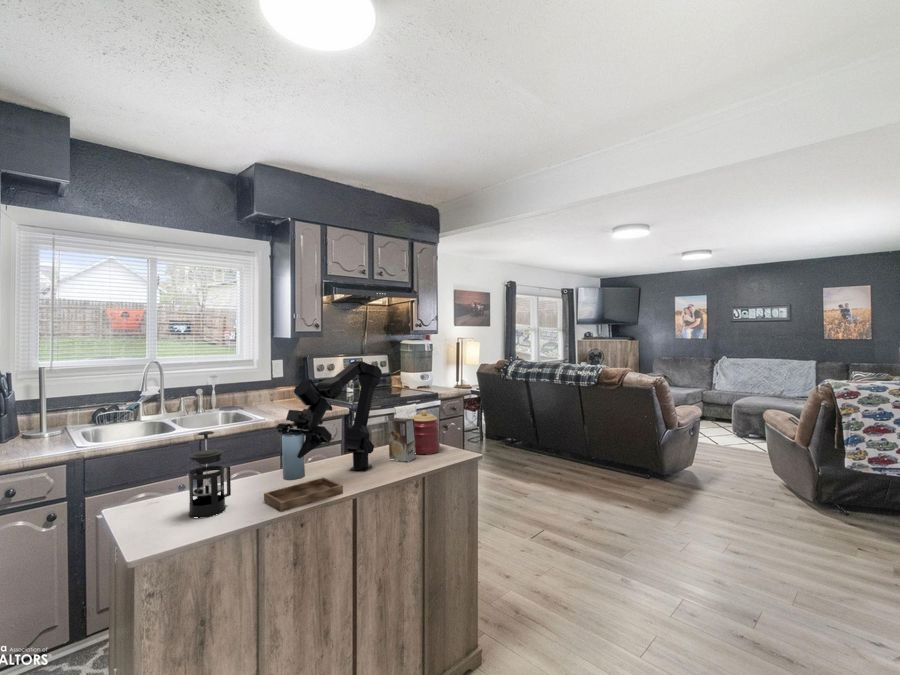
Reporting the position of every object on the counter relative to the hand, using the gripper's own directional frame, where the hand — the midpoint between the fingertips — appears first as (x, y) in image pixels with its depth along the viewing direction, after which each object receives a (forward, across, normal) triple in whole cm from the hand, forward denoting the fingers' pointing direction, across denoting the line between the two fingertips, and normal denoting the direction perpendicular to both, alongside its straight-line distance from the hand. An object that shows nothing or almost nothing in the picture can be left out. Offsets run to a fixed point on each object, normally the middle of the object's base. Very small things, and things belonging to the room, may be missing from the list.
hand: (290, 456), depth 136 cm
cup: (+4, 0, +6) cm, 7 cm away
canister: (-36, +11, +56) cm, 68 cm away
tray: (+7, +2, +12) cm, 14 cm away
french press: (+20, -16, -1) cm, 26 cm away
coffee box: (-27, +8, +46) cm, 54 cm away
